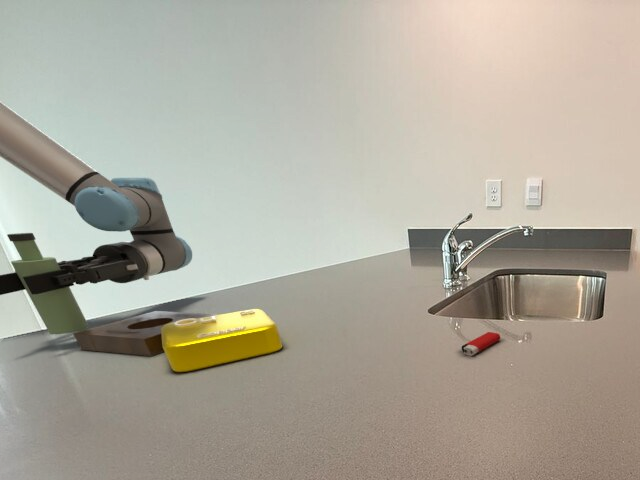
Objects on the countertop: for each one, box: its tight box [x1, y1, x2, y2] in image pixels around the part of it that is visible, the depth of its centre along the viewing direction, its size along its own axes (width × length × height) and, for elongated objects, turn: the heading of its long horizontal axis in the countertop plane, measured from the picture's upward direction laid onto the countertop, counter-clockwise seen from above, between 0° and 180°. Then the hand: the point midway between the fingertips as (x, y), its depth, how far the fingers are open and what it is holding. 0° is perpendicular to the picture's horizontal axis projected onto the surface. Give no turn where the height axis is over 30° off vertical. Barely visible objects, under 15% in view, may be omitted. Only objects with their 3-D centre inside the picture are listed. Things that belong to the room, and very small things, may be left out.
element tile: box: [161, 308, 283, 373], centre depth 67 cm, size 15×15×5 cm
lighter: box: [461, 331, 501, 357], centre depth 66 cm, size 3×1×8 cm
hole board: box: [72, 310, 220, 357], centre depth 74 cm, size 16×14×3 cm
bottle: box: [6, 232, 90, 335], centre depth 68 cm, size 5×5×16 cm
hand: (10, 286), depth 63 cm, fingers closed on bottle, 5 cm apart
